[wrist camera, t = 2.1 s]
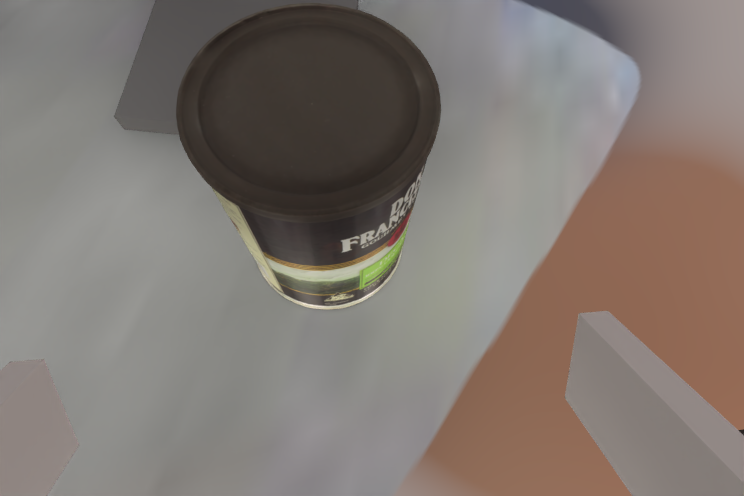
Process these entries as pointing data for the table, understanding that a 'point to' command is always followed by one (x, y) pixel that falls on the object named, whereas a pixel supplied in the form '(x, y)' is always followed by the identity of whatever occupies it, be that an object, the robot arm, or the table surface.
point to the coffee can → (313, 143)
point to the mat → (179, 55)
